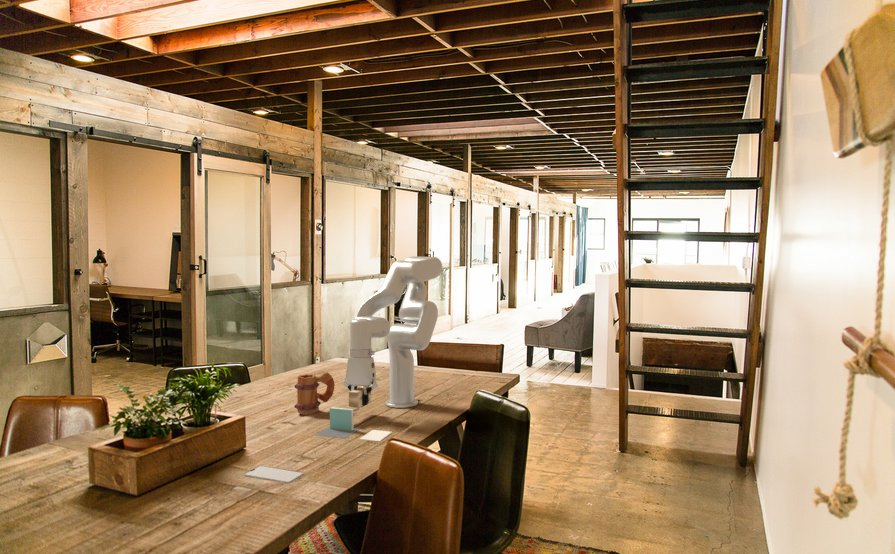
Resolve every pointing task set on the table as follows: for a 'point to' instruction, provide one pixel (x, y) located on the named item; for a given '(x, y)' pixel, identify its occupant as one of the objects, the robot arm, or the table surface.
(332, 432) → the mat
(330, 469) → the table surface
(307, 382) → the mug
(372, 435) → the pad
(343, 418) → the tile
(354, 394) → the beige piece
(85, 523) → the table surface
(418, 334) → the robot arm
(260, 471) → the smartphone
